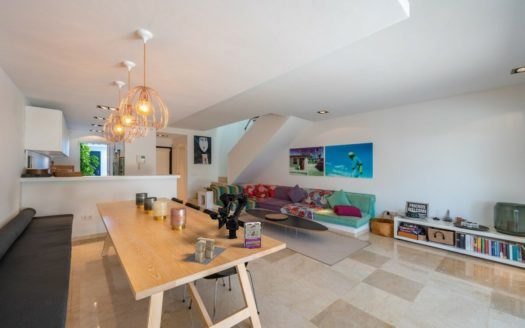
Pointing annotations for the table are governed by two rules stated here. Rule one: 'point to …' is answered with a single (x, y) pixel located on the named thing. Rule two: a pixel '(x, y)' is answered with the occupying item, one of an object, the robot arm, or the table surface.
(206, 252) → the maple T block
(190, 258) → the slate board
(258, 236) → the candy bar box
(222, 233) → the table surface
